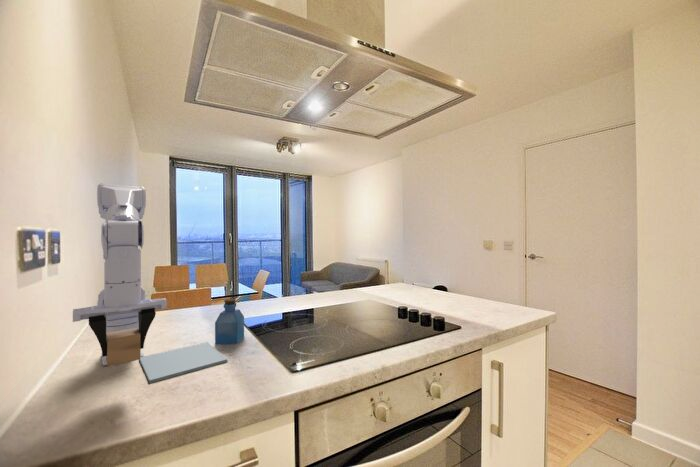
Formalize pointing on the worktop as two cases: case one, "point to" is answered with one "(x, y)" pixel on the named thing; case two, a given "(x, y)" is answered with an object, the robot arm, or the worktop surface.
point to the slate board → (180, 361)
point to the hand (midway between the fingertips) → (123, 351)
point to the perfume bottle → (229, 324)
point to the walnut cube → (123, 346)
